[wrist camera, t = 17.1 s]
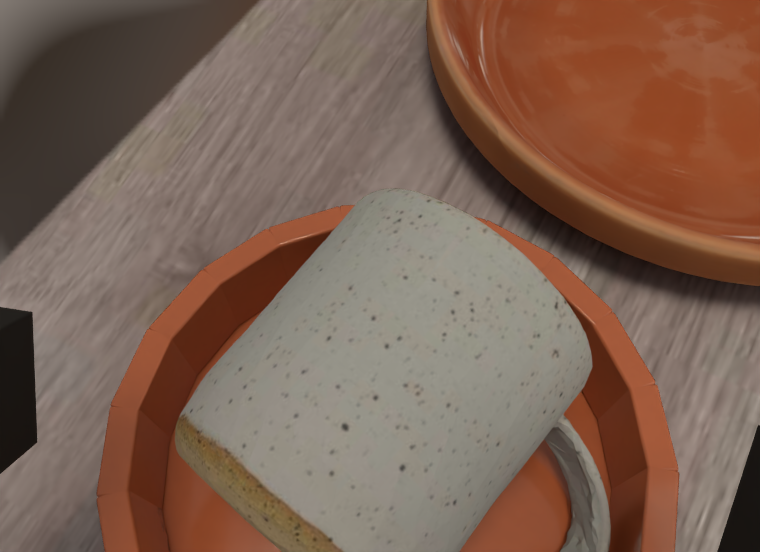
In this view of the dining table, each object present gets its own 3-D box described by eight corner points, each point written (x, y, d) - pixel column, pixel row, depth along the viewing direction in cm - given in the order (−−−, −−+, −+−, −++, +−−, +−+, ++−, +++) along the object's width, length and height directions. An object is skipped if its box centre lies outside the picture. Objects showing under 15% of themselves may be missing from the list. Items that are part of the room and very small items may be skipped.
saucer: (973, -30, 31) (1043, -108, 28) (999, 411, 21) (1113, 369, 18) (507, -134, 35) (520, -213, 32) (337, 194, 25) (331, 128, 22)
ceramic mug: (191, 472, 19) (95, 390, 13) (363, 277, 22) (360, 127, 16) (494, 736, 16) (583, 816, 10) (643, 471, 20) (790, 390, 13)
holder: (105, 337, 22) (61, 288, 19) (500, 210, 24) (518, 150, 21) (206, 873, 16) (164, 932, 12) (730, 627, 18) (804, 626, 15)
